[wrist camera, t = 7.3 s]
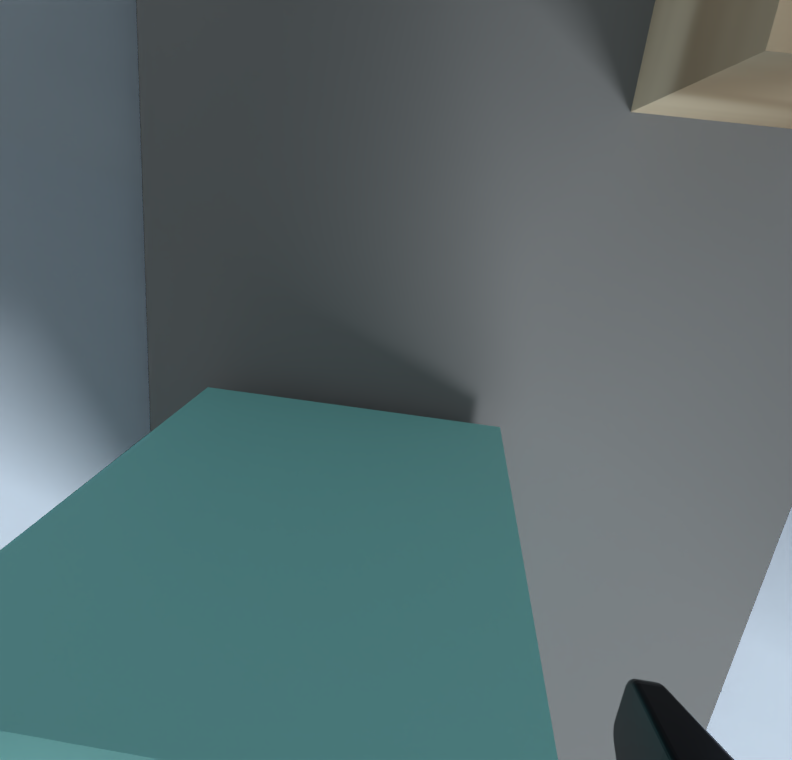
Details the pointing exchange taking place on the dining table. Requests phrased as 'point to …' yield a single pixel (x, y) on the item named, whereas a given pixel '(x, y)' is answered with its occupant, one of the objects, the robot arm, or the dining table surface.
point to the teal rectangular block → (277, 596)
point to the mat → (495, 292)
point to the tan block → (718, 62)
